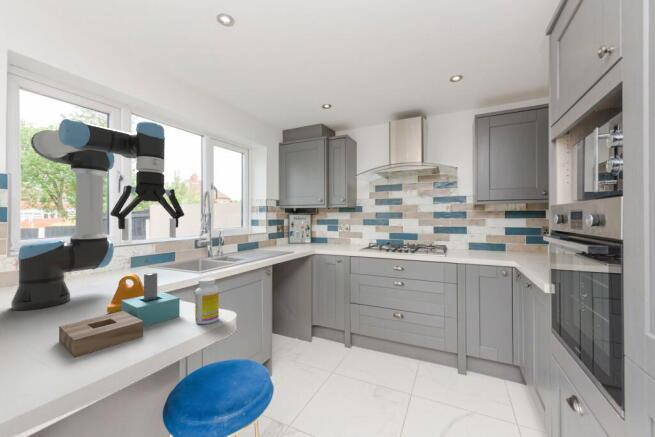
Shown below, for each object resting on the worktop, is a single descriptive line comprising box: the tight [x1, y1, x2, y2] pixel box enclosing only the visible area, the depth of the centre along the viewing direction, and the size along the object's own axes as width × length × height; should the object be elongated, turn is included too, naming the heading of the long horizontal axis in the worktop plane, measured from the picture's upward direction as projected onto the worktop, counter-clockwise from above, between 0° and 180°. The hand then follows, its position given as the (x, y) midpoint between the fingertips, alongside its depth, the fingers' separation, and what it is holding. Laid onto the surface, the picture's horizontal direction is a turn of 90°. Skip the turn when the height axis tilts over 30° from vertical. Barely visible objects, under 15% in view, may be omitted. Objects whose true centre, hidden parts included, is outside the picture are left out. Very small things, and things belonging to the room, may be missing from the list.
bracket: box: [106, 273, 144, 314], centre depth 94 cm, size 11×7×12 cm, turn 116°
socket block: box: [58, 311, 144, 358], centre depth 72 cm, size 14×14×4 cm
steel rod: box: [143, 272, 158, 303], centre depth 87 cm, size 4×4×14 cm
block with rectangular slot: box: [121, 291, 181, 328], centre depth 87 cm, size 12×12×6 cm
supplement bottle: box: [194, 277, 220, 325], centre depth 84 cm, size 7×7×13 cm
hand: (150, 238), depth 87 cm, fingers open, 13 cm apart
